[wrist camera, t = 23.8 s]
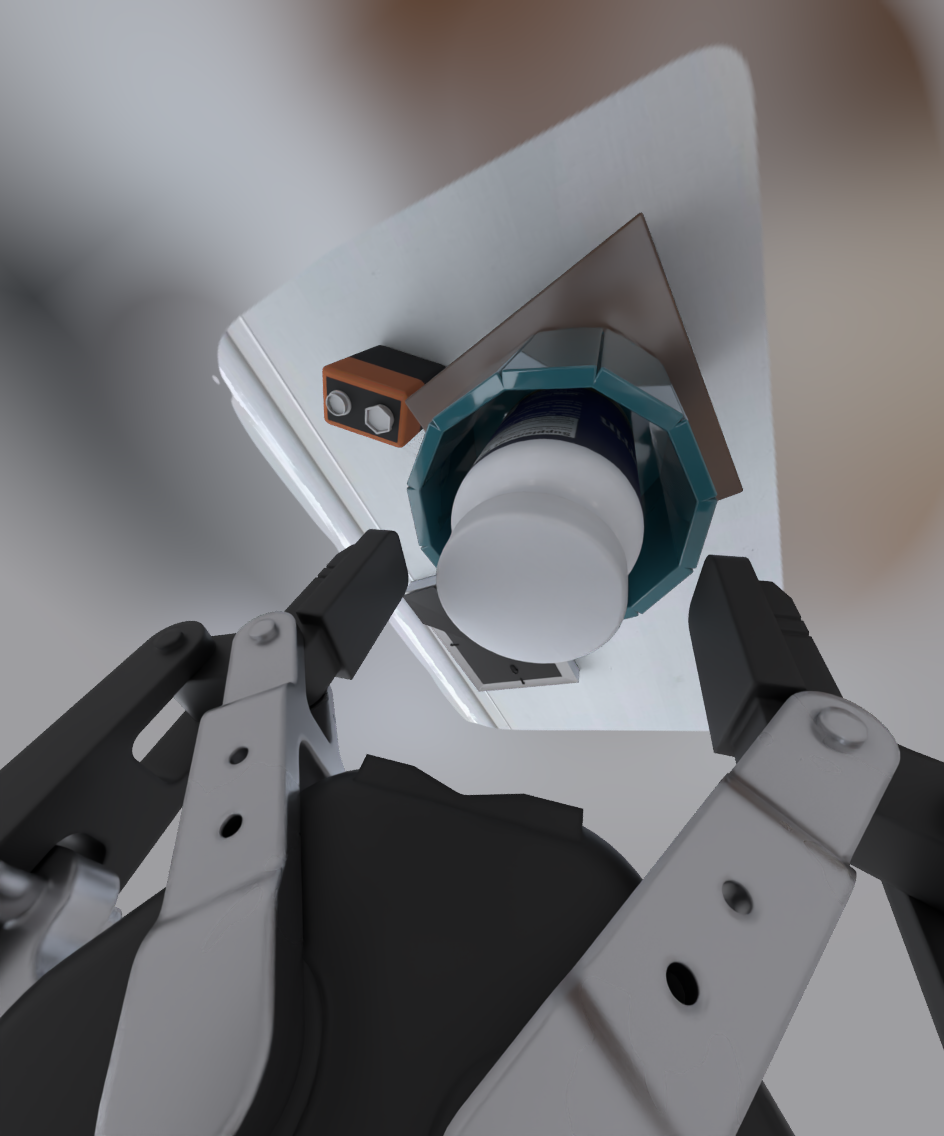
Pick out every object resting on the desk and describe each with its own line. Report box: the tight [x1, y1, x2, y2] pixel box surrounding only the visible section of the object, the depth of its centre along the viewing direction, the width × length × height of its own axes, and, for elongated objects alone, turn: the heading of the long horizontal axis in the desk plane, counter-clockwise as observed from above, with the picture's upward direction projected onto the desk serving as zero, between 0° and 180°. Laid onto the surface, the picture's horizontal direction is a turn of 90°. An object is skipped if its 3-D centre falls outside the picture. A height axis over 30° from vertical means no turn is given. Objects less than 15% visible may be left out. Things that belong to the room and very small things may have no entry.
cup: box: [407, 327, 717, 620], centre depth 15 cm, size 9×9×7 cm
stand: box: [405, 212, 743, 501], centre depth 24 cm, size 11×11×18 cm
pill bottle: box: [436, 388, 644, 663], centre depth 13 cm, size 6×6×10 cm
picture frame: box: [403, 575, 580, 691], centre depth 52 cm, size 16×3×21 cm
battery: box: [322, 345, 446, 448], centre depth 32 cm, size 4×7×10 cm, turn 77°
